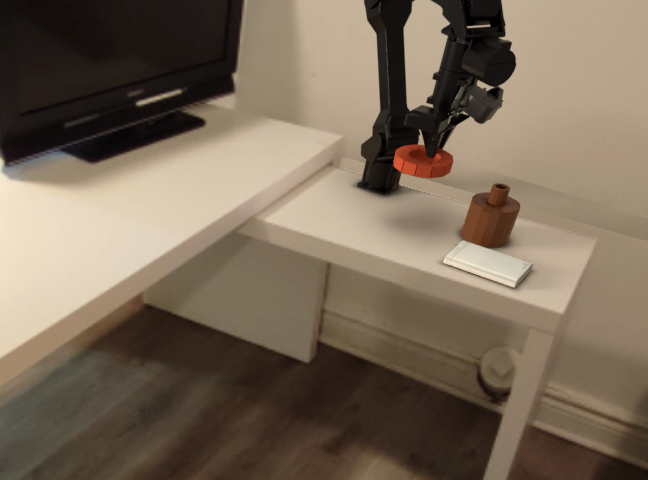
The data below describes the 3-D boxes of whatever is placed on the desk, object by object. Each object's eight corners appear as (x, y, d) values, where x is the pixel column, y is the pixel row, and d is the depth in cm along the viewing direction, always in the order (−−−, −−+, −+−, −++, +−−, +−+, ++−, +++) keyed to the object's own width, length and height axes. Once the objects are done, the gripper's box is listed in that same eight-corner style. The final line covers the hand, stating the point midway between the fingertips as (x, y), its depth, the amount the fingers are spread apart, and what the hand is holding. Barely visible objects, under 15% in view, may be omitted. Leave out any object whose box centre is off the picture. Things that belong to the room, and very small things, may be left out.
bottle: (453, 236, 147) (469, 186, 141) (472, 222, 152) (488, 173, 145) (496, 252, 143) (515, 201, 136) (514, 236, 147) (533, 186, 141)
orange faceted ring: (383, 166, 144) (385, 154, 142) (410, 151, 149) (413, 140, 148) (433, 183, 138) (436, 171, 137) (459, 167, 144) (463, 155, 142)
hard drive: (534, 262, 137) (463, 238, 143) (517, 281, 132) (445, 255, 138) (530, 270, 138) (461, 246, 144) (513, 289, 133) (442, 263, 139)
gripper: (478, 92, 126) (451, 184, 135) (526, 66, 136) (497, 154, 146) (414, 75, 132) (392, 165, 141) (464, 53, 142) (441, 137, 152)
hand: (433, 155), depth 145 cm, fingers closed on orange faceted ring, 2 cm apart
